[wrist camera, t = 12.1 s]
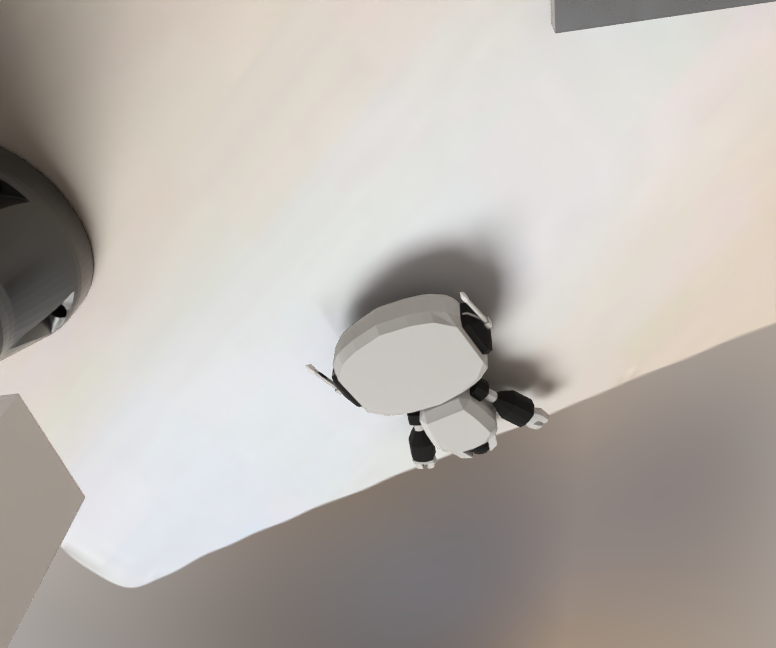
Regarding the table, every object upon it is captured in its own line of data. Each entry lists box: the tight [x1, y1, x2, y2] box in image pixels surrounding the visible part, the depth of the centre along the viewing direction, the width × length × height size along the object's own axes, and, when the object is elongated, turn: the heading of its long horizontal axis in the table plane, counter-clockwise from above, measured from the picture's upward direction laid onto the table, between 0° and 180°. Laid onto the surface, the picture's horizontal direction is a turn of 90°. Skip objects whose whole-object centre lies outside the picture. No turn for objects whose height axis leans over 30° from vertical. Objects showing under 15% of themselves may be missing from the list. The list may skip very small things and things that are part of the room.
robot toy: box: [306, 292, 549, 469], centre depth 50 cm, size 12×4×15 cm
